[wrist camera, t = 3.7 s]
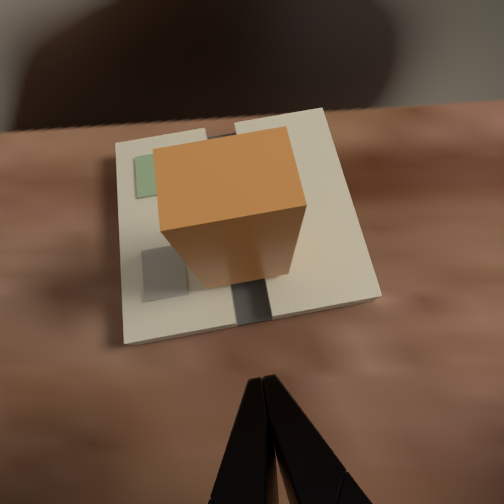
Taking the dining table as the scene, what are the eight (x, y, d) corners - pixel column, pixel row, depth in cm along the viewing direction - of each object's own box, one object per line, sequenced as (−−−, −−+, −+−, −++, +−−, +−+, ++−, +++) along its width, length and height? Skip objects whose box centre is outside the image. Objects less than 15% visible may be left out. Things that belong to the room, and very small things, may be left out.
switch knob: (286, 279, 18) (307, 205, 10) (209, 293, 18) (159, 231, 10) (276, 232, 19) (286, 126, 11) (203, 245, 19) (152, 149, 11)
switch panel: (373, 300, 19) (383, 295, 17) (134, 345, 18) (122, 343, 17) (318, 123, 23) (322, 105, 21) (124, 156, 22) (113, 141, 21)
